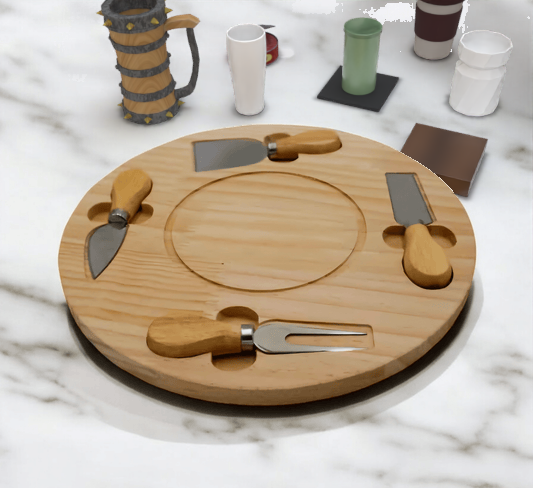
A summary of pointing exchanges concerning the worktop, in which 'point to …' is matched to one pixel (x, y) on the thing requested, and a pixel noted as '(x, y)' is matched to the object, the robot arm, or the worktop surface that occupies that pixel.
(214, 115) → the worktop surface
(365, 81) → the tumbler
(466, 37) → the vase
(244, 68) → the drinking glass
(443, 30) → the coffee cup
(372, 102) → the mat
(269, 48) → the canned food
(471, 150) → the display stand
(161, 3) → the mug
